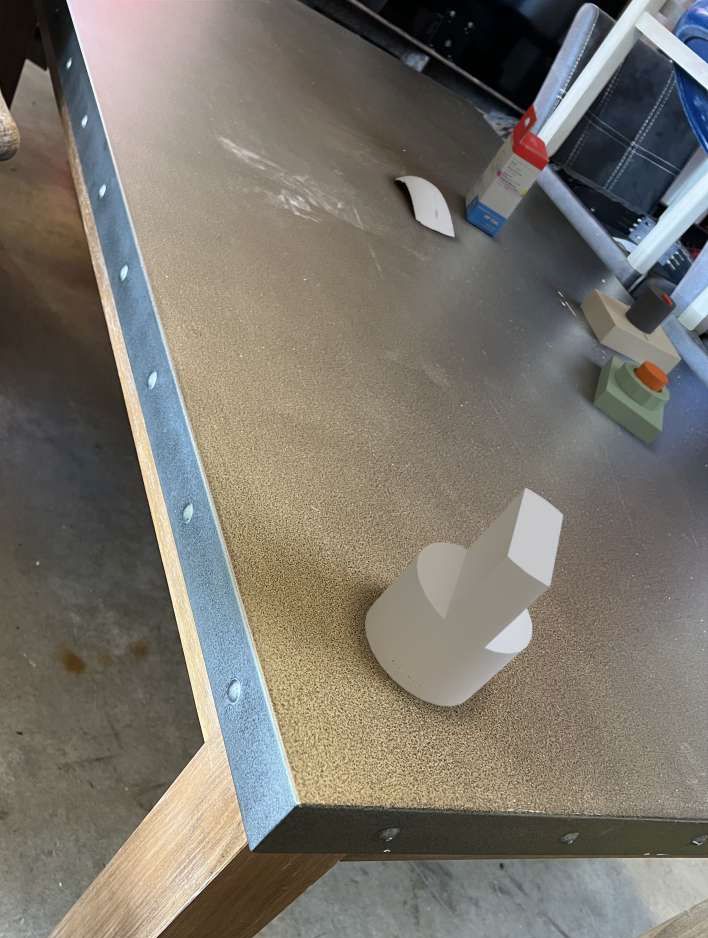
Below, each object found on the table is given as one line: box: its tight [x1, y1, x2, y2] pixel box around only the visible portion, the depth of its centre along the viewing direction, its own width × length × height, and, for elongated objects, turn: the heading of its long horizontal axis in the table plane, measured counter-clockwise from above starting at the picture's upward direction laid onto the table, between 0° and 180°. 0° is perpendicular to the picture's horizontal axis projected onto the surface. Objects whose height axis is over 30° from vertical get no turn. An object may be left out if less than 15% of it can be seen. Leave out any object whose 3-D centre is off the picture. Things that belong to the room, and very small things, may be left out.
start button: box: [634, 361, 669, 393], centre depth 113 cm, size 4×4×2 cm
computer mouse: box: [394, 175, 456, 238], centre depth 125 cm, size 7×12×2 cm, turn 15°
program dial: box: [626, 284, 677, 334], centre depth 128 cm, size 4×4×5 cm
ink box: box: [465, 104, 550, 238], centre depth 130 cm, size 8×5×15 cm, turn 171°
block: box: [592, 354, 671, 446], centre depth 114 cm, size 12×8×4 cm, turn 157°
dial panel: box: [579, 288, 682, 376], centre depth 130 cm, size 12×9×3 cm
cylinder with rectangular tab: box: [364, 487, 564, 707], centre depth 62 cm, size 9×9×12 cm
